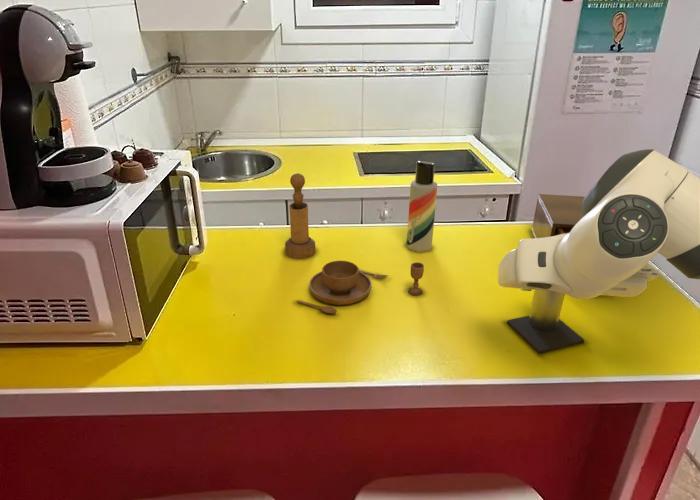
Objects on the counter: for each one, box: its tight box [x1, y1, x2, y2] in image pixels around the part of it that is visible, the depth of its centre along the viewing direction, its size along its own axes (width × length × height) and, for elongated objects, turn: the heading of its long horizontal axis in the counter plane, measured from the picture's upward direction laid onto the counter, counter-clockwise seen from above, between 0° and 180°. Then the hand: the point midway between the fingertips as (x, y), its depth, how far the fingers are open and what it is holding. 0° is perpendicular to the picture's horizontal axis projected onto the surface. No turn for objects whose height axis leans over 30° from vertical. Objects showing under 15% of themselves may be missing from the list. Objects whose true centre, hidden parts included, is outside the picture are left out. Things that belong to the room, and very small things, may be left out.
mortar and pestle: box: [284, 172, 317, 260], centre depth 110 cm, size 7×6×18 cm
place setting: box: [296, 260, 425, 314], centre depth 97 cm, size 18×20×6 cm
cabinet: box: [531, 193, 586, 238], centre depth 114 cm, size 17×15×10 cm
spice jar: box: [528, 290, 566, 331], centre depth 88 cm, size 5×5×11 cm
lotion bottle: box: [406, 159, 438, 253], centre depth 112 cm, size 6×6×20 cm
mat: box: [506, 315, 585, 355], centre depth 89 cm, size 9×9×1 cm
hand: (555, 288), depth 84 cm, fingers open, 8 cm apart
